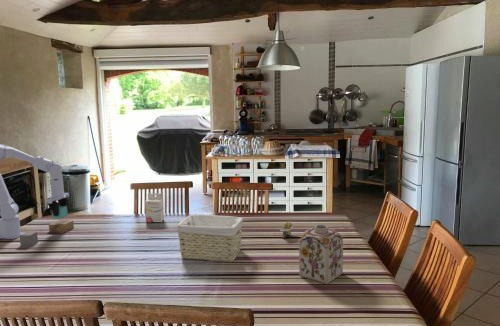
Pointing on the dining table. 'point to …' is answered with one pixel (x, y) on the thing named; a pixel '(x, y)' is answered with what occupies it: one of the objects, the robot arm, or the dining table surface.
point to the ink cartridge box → (154, 208)
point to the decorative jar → (321, 254)
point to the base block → (61, 226)
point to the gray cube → (28, 238)
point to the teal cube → (61, 212)
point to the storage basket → (210, 237)
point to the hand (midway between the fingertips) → (59, 214)
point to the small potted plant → (286, 229)
